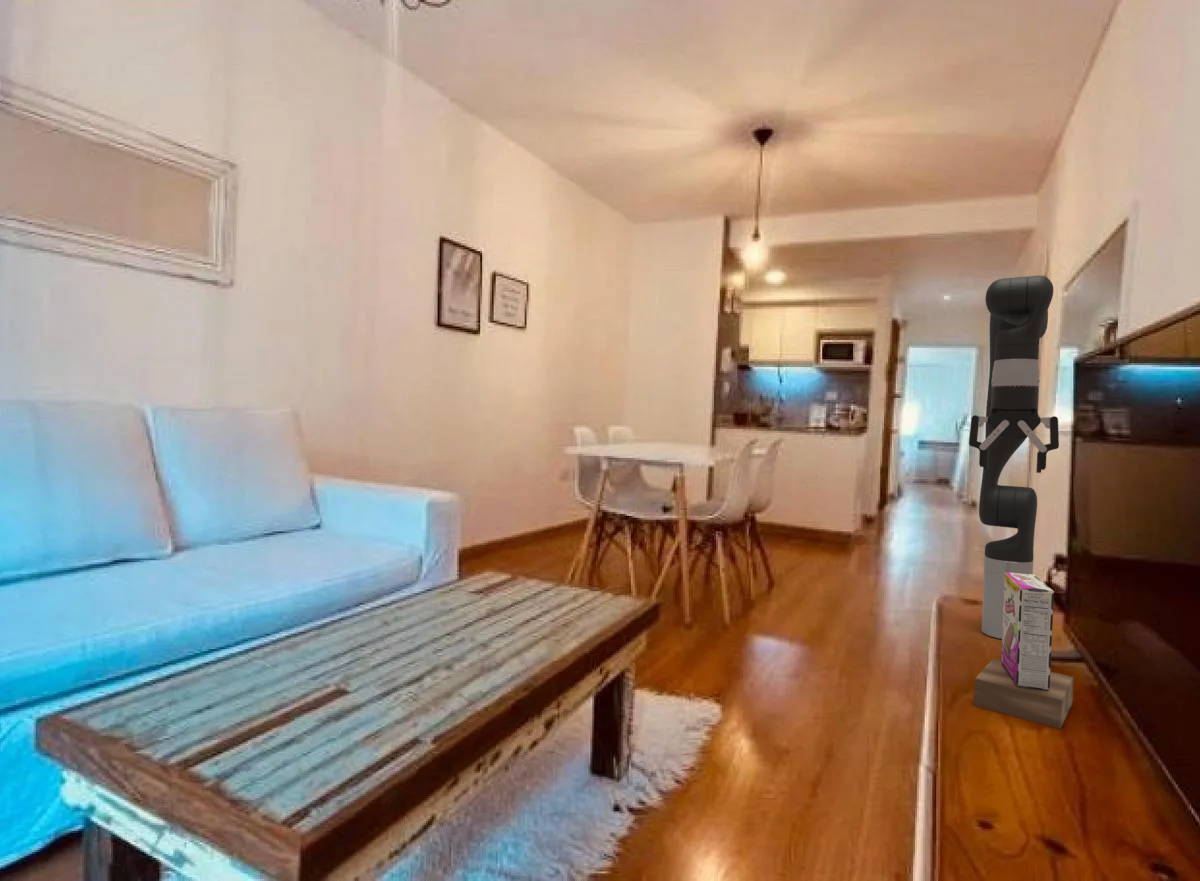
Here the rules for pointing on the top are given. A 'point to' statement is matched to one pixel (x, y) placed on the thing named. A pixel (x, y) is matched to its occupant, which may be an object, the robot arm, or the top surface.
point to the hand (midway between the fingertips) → (1011, 471)
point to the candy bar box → (1027, 630)
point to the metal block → (1023, 696)
